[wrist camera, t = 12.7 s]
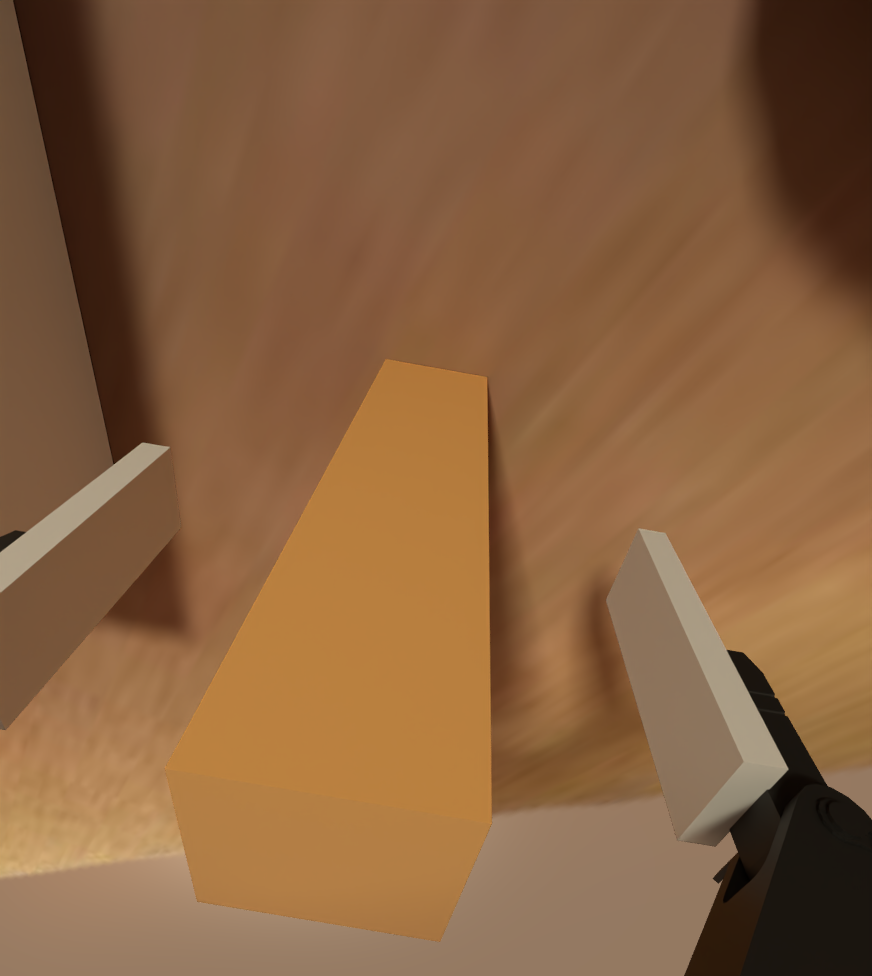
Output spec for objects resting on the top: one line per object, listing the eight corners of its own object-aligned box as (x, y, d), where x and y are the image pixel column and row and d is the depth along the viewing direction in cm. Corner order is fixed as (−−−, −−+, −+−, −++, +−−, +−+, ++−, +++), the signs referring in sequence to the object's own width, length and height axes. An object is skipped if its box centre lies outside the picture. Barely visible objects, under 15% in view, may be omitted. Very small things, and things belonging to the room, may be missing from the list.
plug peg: (386, 358, 20) (163, 769, 6) (487, 377, 20) (492, 823, 6) (376, 449, 22) (196, 901, 8) (468, 465, 22) (440, 942, 8)
